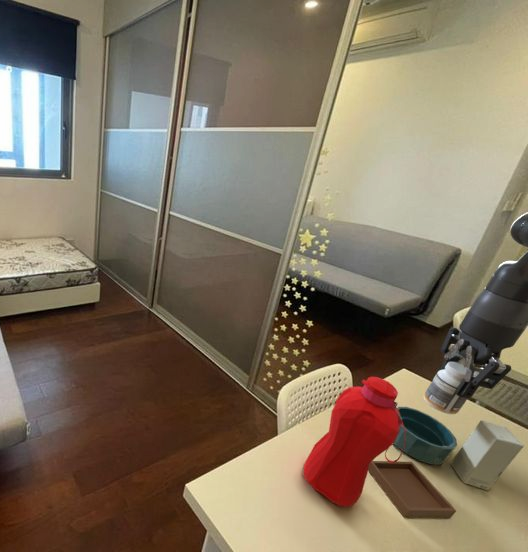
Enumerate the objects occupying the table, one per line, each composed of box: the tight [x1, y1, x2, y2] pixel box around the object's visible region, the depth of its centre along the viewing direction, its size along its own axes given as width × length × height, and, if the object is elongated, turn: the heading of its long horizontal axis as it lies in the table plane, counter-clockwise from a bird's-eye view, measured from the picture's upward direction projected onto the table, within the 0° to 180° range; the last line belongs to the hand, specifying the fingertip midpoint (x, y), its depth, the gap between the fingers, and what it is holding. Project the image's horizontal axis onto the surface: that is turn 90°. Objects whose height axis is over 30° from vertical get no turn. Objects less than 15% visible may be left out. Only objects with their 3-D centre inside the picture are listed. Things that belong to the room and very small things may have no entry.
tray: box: [368, 460, 457, 519], centre depth 62 cm, size 10×10×2 cm
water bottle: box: [303, 376, 406, 508], centre depth 57 cm, size 9×11×25 cm
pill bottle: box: [423, 362, 479, 415], centre depth 67 cm, size 6×6×10 cm
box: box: [450, 419, 525, 491], centre depth 65 cm, size 5×4×13 cm
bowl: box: [393, 406, 458, 465], centre depth 73 cm, size 11×11×6 cm
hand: (452, 385), depth 67 cm, fingers closed on pill bottle, 5 cm apart
